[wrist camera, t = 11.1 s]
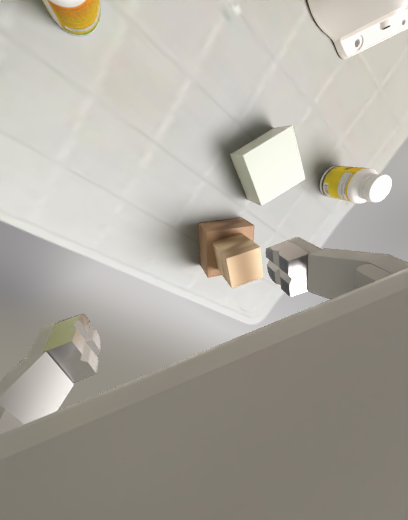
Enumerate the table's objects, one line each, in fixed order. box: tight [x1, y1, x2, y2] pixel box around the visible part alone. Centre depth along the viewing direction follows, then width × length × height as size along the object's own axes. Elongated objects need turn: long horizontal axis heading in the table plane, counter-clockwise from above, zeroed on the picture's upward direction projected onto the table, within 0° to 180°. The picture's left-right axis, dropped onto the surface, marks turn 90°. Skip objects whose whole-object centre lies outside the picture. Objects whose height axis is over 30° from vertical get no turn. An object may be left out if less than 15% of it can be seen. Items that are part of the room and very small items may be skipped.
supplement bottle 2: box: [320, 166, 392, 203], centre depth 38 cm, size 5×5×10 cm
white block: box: [230, 125, 305, 206], centre depth 36 cm, size 8×8×5 cm
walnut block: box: [198, 218, 254, 277], centre depth 40 cm, size 8×8×5 cm
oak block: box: [212, 233, 263, 288], centre depth 35 cm, size 5×5×6 cm
